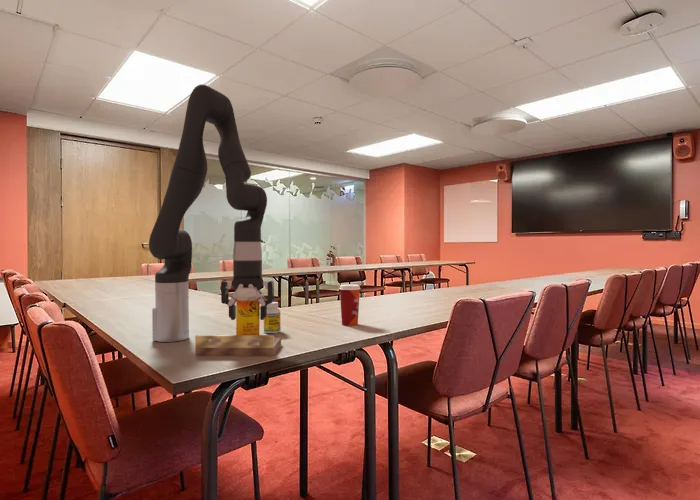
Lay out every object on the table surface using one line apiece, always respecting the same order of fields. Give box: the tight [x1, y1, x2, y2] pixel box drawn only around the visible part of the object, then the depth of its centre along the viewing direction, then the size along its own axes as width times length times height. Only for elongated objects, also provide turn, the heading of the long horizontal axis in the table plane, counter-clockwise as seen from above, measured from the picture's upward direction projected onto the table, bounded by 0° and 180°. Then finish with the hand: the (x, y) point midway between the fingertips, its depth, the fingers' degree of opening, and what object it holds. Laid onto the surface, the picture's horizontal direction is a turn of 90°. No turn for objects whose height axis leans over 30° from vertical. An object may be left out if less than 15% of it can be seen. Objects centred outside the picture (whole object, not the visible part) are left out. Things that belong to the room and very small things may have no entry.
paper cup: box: [338, 283, 362, 327], centre depth 146 cm, size 8×8×14 cm
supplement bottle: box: [263, 301, 281, 334], centre depth 133 cm, size 5×5×10 cm
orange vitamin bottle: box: [235, 287, 261, 335], centre depth 111 cm, size 6×6×15 cm
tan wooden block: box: [194, 334, 282, 357], centre depth 111 cm, size 20×11×5 cm, turn 89°
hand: (247, 319), depth 111 cm, fingers open, 7 cm apart
